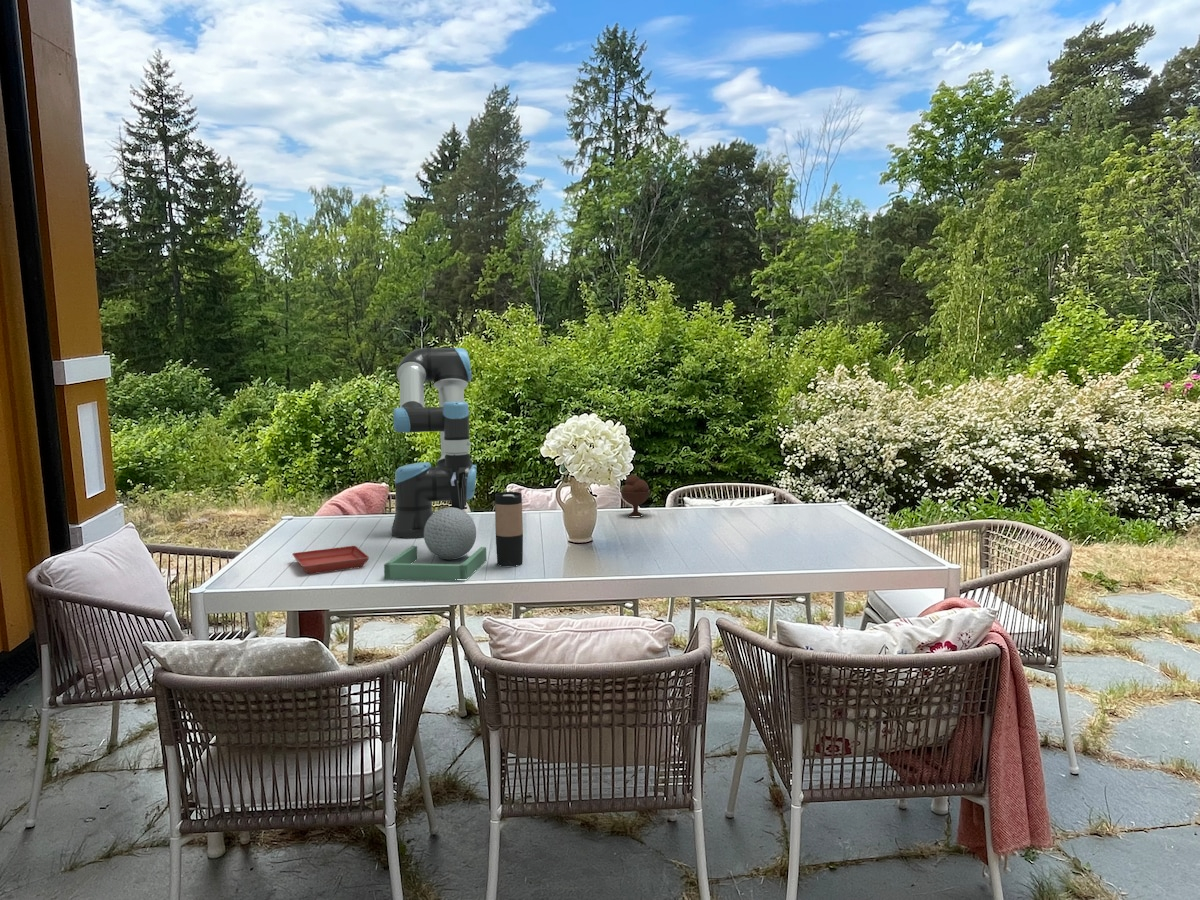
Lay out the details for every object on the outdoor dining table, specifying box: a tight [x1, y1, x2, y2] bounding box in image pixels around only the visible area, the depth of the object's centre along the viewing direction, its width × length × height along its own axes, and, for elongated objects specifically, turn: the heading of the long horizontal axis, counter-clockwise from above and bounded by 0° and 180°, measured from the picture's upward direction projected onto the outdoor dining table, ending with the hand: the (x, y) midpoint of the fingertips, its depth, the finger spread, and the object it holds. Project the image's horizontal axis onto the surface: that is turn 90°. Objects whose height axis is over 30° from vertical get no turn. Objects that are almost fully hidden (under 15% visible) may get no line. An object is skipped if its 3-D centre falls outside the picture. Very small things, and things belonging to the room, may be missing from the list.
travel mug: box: [494, 491, 524, 567], centre depth 229 cm, size 8×8×20 cm
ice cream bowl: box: [620, 474, 651, 517], centre depth 297 cm, size 11×11×15 cm
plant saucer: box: [291, 545, 370, 575], centre depth 231 cm, size 18×18×3 cm
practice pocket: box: [383, 545, 487, 581], centre depth 224 cm, size 22×22×4 cm
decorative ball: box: [423, 506, 477, 560], centre depth 236 cm, size 15×15×15 cm
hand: (460, 531), depth 245 cm, fingers closed
